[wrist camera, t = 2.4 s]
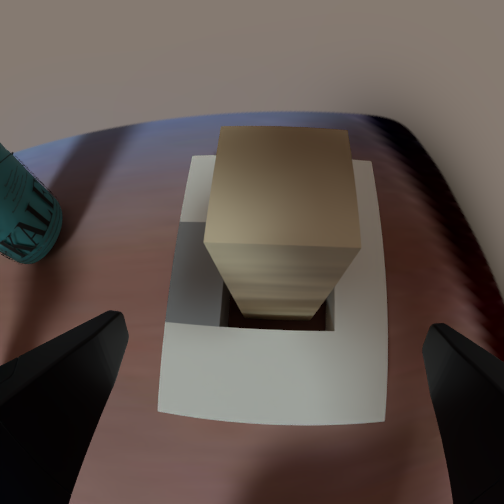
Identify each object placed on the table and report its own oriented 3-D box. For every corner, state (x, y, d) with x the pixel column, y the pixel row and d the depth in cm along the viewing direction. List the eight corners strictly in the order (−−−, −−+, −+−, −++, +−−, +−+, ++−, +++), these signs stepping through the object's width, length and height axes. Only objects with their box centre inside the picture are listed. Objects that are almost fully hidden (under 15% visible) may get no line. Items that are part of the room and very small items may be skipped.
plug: (309, 320, 19) (361, 248, 8) (244, 318, 19) (203, 242, 8) (310, 259, 20) (347, 130, 9) (249, 257, 20) (221, 126, 9)
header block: (368, 414, 16) (384, 421, 13) (174, 405, 17) (157, 411, 14) (361, 185, 22) (371, 161, 19) (201, 180, 23) (192, 155, 20)
